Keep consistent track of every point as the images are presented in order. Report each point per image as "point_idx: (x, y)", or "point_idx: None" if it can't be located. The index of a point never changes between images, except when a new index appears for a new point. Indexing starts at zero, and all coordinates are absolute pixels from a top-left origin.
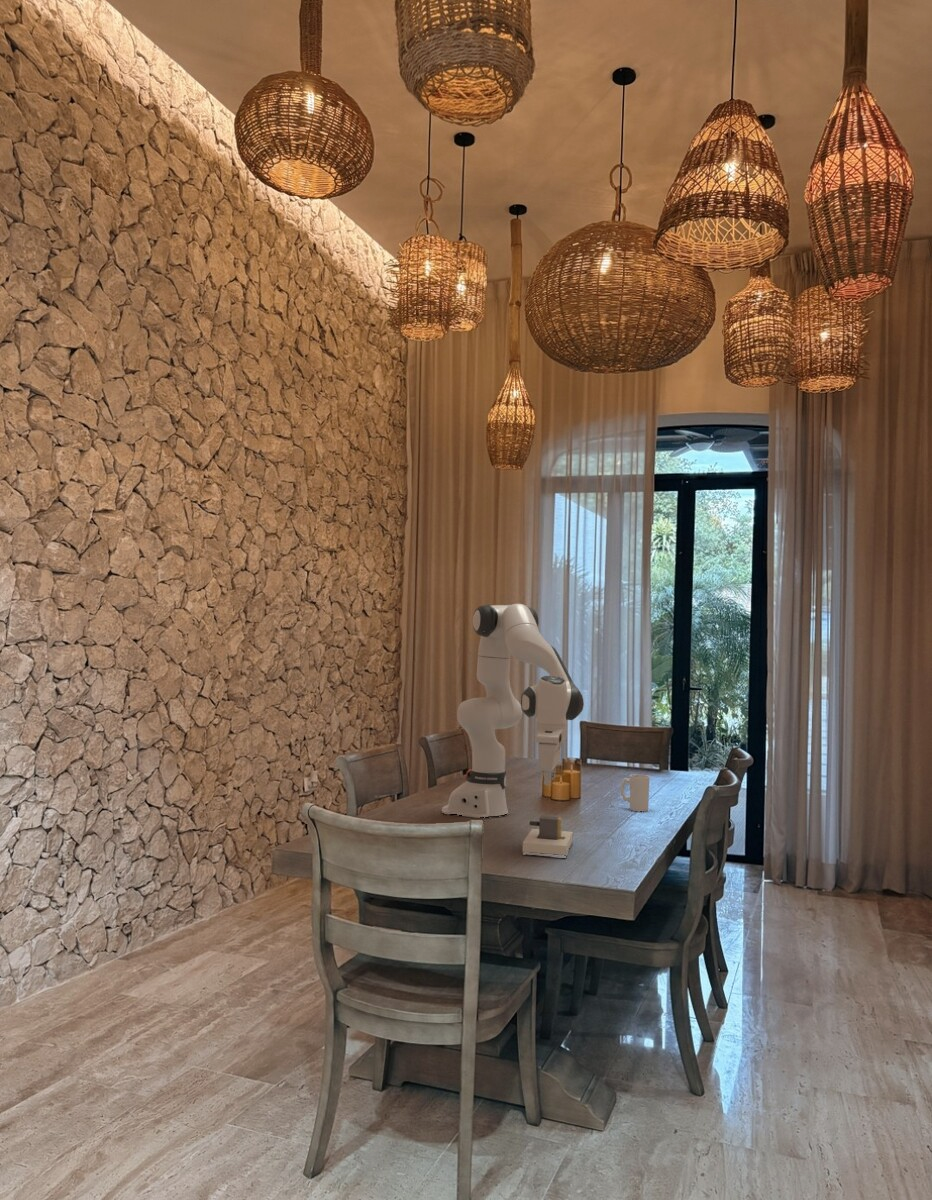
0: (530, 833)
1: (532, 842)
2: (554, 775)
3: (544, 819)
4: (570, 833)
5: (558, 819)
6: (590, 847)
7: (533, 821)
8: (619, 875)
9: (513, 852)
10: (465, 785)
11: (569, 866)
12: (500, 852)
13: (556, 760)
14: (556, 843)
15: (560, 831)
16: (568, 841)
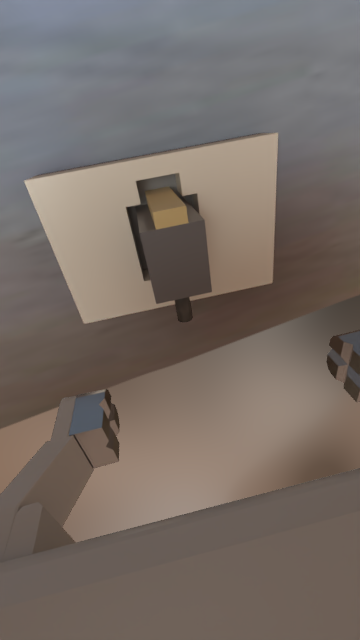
0: (151, 304)
1: (263, 259)
2: (93, 415)
3: (209, 272)
4: (61, 180)
5: (186, 218)
6: (38, 79)
7: (186, 310)
8: None
9: (237, 297)
10: None
11: (348, 90)
12: (248, 320)
13: (357, 594)
14: (251, 182)
15: (177, 196)
16: (192, 148)
